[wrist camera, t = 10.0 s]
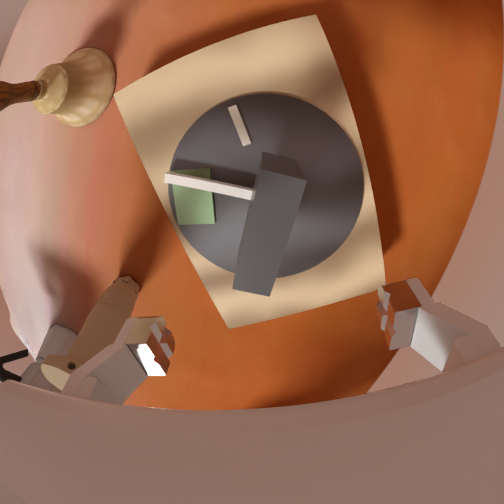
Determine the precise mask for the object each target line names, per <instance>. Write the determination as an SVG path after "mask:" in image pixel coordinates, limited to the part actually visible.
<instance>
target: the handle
mask: <svg viewBox="0 0 504 504" xmlns="http://www.w3.org/2000/svg"><path fill="white" fill-rule="evenodd" d="M138 291H139V285H138V284H137V283H136V282H134V281H133V279H132V278H131V277H130V276H126V277H118V278H116V279H115V280H114V281H113V284H112V285H111V286H109V287H108V288H107V289H106V290H105V292H104V293H103V294H102V295H101V296H100V298H99V299H98V300H97V302H96V303H95V305H94V307H93V308H92V310H91V312H90V313H89V315H88V317H87V319H86V321H85V323H84V325H83V327H82V328H81V330H80V332H79V334H78V336H77V338H76V340H75V342H74V343H73V345H72V347H71V349H70V350H69V352H68V353H67V355H66V356H60V355H51V354H49V355H48V356H47V357H46V358H45V360H44V361H43V363H42V365H41V370H42V372H43V374H44V376H45V377H46V378H47V380H48V381H49V382H50V383H52V384H53V385H54V386H56V387H57V388H58V389H60V390H61V391H62V390H63V388H64V386H65V384H66V382H67V380H68V378H69V377H70V375H71V373H73V372H74V371H75V370H77V369H78V368H79V367H81V366H82V365H83V364H85V363H86V362H87V361H89V360H90V359H91V358H93V357H94V356H95V355H97V354H98V353H99V352H101V351H102V350H103V349H105V348H106V347H107V346H109V345H110V344H113V343H114V342H115V340H116V338H117V336H118V334H119V332H120V331H121V329H122V327H123V325H124V323H125V322H126V320H127V319H128V318H130V316H131V313H132V311H133V308H134V305H135V301H136V300H137V297H138Z"/></svg>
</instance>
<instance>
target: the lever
mask: <svg viewBox="0 0 504 504" xmlns="http://www.w3.org/2000/svg"><path fill="white" fill-rule="evenodd" d="M306 182H307V180H306V178H305V176H304V174H303V172H302V170H301V168H300V166H299V164H298V162H297V160H295V159H291V158H287V157H283V156H280V155H275V154H271V153H267V152H263V151H262V155H261V159H260V163H259V167H258V171H257V175H256V179H255V183H254V187H253V188H248V187H244V186H239V185H235V184H230V183H225V182H220V181H216V180H211V179H206V178H201V177H196V176H190V175H185V174H180V173H174V172H168V171H167V172H166V173H165V178H164V183H170V184H175V185H180V186H185V187H191V188H196V189H201V190H205V191H210V192H215V193H220V194H225V195H229V196H234V197H239V198H243V199H247V200H250V204H249V208H248V212H247V217H246V221H245V225H244V229H243V233H242V238H241V242H240V246H239V252H238V258H237V263H236V269H235V275H234V281H233V287H232V289H234V290H239V291H244V292H249V293H253V294H258V295H263V296H268V297H270V294H271V291H272V289H273V286H274V283H275V280H276V277H277V274H278V271H279V268H280V265H281V262H282V258H283V255H284V252H285V249H286V246H287V243H288V240H289V237H290V234H291V231H292V228H293V224H294V221H295V218H296V215H297V212H298V208H299V205H300V202H301V199H302V196H303V192H304V189H305V186H306Z"/></svg>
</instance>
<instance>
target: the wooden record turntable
mask: <svg viewBox="0 0 504 504" xmlns="http://www.w3.org/2000/svg"><path fill="white" fill-rule="evenodd" d="M113 96H114V98H115V101H116V103H117V105H118V108H119V110H120V113H121V115H122V117H123V120H124V122H125V125H126V127H127V129H128V132H129V134H130V136H131V138H132V141H133V143H134V145H135V147H136V150H137V152H138V154H139V156H140V159H141V161H142V163H143V165H144V167H145V170H146V172H147V174H148V176H149V178H150V180H151V182H152V184H153V187H154V189H155V191H156V193H157V195H158V197H159V199H160V201H161V203H162V205H163V207H164V209H165V211H166V213H167V215H168V217H169V219H170V221H171V223H172V225H173V227H174V229H175V231H176V233H177V235H178V237H179V239H180V241H181V243H182V245H183V247H184V249H185V250H186V252H187V254H188V256H189V258H190V260H191V262H192V264H193V266H194V267H195V269H196V271H197V273H198V275H199V277H200V278H201V280H202V282H203V284H204V286H205V288H206V289H207V291H208V293H209V295H210V297H211V298H212V300H213V302H214V304H215V305H216V307H217V309H218V311H219V312H220V314H221V316H222V318H223V319H224V321H225V323H226V325H227V326H228V328H229V329H231V328H235V327H240V326H245V325H249V324H253V323H258V322H262V321H266V320H270V319H275V318H279V317H283V316H287V315H291V314H295V313H298V312H302V311H306V310H310V309H313V308H317V307H321V306H324V305H328V304H331V303H335V302H338V301H342V300H345V299H349V298H352V297H355V296H359V295H362V294H365V293H368V292H372V291H375V290H378V288H379V286H380V285H385V284H386V283H385V272H384V263H383V254H382V247H381V239H380V232H379V226H378V219H377V213H376V208H375V202H374V197H373V192H372V187H371V182H370V177H369V172H368V168H367V164H366V159H365V155H364V151H363V147H362V143H361V139H360V136H359V132H358V128H357V125H356V121H355V118H354V114H353V111H352V108H351V104H350V101H349V98H348V95H347V92H346V89H345V86H344V83H343V80H342V77H341V74H340V72H339V69H338V66H337V63H336V61H335V58H334V56H333V53H332V50H331V48H330V45H329V43H328V41H327V38H326V36H325V33H324V31H323V29H322V27H321V24H320V22H319V20H318V18H317V15H311V16H306V17H301V18H296V19H292V20H288V21H283V22H279V23H276V24H272V25H268V26H265V27H261V28H258V29H255V30H251V31H248V32H245V33H242V34H239V35H236V36H233V37H230V38H228V39H225V40H222V41H220V42H217V43H214V44H212V45H209V46H207V47H204V48H202V49H200V50H197V51H195V52H193V53H190V54H188V55H186V56H184V57H181V58H179V59H177V60H175V61H173V62H171V63H169V64H167V65H165V66H163V67H161V68H159V69H157V70H155V71H153V72H151V73H150V74H148V75H146V76H144V77H142V78H140V79H139V80H137V81H135V82H133V83H132V84H130V85H128V86H127V87H125V88H123V89H122V90H120V91H118V92H117V93H115V94H114V95H113ZM262 151H263V152H267V153H271V154H275V155H280V156H283V157H287V158H291V159H295V160H297V162H298V164H299V166H300V168H301V170H302V172H303V174H304V176H305V178H306V180H307V182H306V186H305V189H304V192H303V196H302V199H301V202H300V205H299V208H298V212H297V215H296V218H295V221H294V224H293V228H292V231H291V234H290V237H289V240H288V243H287V246H286V249H285V252H284V255H283V258H282V262H281V265H280V268H279V271H278V274H277V277H276V280H275V283H274V286H273V289H272V291H271V294H270V297H268V296H263V295H258V294H253V293H249V292H244V291H239V290H234V289H232V287H233V281H234V275H235V269H236V263H237V258H238V252H239V246H240V242H241V238H242V233H243V229H244V225H245V221H246V217H247V212H248V208H249V204H250V200H247V199H243V198H239V197H234V196H229V195H225V194H220V193H215V192H210V191H205V190H201V189H196V188H191V187H185V186H180V185H175V184H170V183H164V178H165V173H166V172H167V171H168V172H174V173H180V174H185V175H190V176H196V177H201V178H206V179H211V180H216V181H220V182H225V183H230V184H235V185H239V186H244V187H248V188H253V187H254V183H255V179H256V175H257V171H258V167H259V163H260V159H261V155H262Z"/></svg>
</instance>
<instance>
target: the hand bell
mask: <svg viewBox="0 0 504 504" xmlns="http://www.w3.org/2000/svg"><path fill="white" fill-rule="evenodd" d="M115 82H116V81H115V69H114V66H113V63H112V61H111V59H110V58H109V57H108V55H107V54H106V53H104V52H103V51H101V50H99V49H96V48H84V49H80V50H78V51H76V52H74V53H72V54H71V55H69V56H68V57H67V58H66V59H64V61H63V62H62V63H58V64H51V65H49V66H47V67H45V68H44V69H43V70H42V71H41V72H40V73H39V74H38V75H37V77H36V79H35V80H34V81H31V82H24V83H18V84H10V83H7V82H4V81H0V111H1V110H3V109H4V108H6V107H8V106H9V105H12V104H15V103H21V102H27V101H32V102H33V105H34V107H35V108H36V109H37V110H38V111H39V112H41V113H44V114H55V116H56V117H57V118H58V119H59V120H60V121H61V122H62V123H64V124H65V125H68V126H71V127H82V126H85V125H88V124H90V123H92V122H93V121H95V120H96V119H97V118H98V117H99V116H100V115H101V114H102V113H103V112H104V111H105V109H106V108H107V106H108V104H109V103H110V100H111V98H112V95H113V92H114V88H115Z"/></svg>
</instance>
